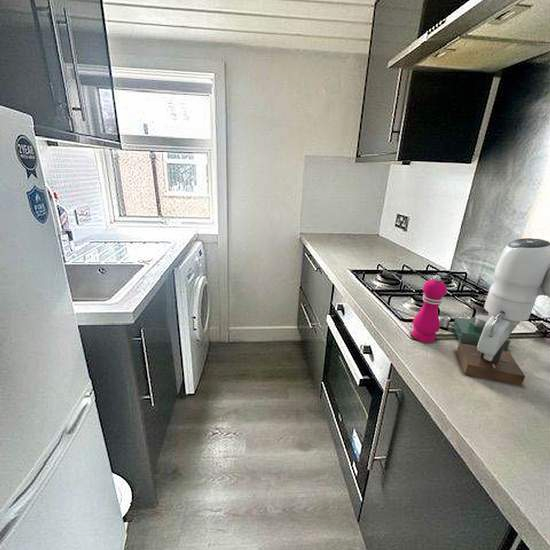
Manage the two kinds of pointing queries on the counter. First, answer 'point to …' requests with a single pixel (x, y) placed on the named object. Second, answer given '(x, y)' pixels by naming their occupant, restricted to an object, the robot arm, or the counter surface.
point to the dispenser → (471, 331)
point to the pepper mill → (429, 311)
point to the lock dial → (497, 355)
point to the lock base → (489, 366)
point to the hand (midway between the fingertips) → (491, 354)
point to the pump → (481, 320)
